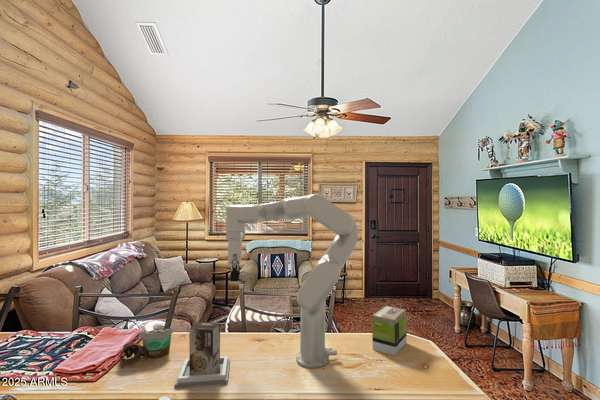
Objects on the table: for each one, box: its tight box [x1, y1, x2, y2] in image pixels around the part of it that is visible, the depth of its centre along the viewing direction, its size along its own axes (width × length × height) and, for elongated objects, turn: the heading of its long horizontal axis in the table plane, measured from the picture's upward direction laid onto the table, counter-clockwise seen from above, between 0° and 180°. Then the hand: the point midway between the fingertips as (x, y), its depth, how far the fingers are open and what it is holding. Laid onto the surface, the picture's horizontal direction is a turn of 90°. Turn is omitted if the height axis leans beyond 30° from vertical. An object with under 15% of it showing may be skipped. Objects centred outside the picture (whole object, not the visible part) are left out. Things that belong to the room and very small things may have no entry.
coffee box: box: [188, 321, 221, 375], centre depth 114 cm, size 9×6×16 cm
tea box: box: [371, 305, 408, 356], centre depth 137 cm, size 15×10×15 cm, turn 144°
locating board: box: [173, 355, 231, 389], centre depth 114 cm, size 17×15×2 cm
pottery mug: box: [119, 343, 149, 369], centre depth 122 cm, size 12×10×8 cm
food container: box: [139, 326, 174, 360], centre depth 127 cm, size 12×6×10 cm, turn 117°
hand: (235, 278), depth 130 cm, fingers open, 9 cm apart
